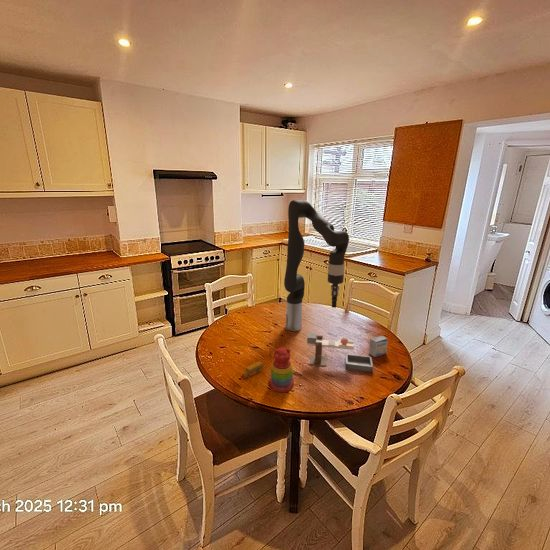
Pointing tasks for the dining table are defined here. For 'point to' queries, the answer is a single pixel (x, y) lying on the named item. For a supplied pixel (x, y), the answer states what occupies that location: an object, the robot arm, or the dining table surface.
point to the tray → (359, 363)
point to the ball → (344, 341)
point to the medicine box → (378, 346)
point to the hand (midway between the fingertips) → (334, 305)
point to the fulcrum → (318, 355)
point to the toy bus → (253, 369)
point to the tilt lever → (328, 342)
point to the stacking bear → (281, 371)
